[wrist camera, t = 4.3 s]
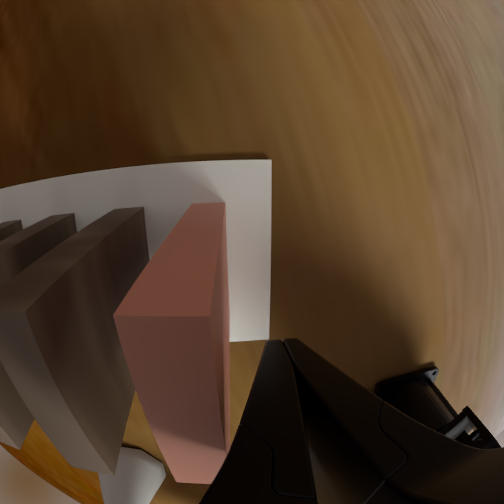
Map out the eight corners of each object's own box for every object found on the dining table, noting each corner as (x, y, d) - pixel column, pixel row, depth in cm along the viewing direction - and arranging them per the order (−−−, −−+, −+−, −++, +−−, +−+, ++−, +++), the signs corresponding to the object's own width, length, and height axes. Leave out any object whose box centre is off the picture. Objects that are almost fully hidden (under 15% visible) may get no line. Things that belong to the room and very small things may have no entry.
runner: (270, 159, 14) (271, 159, 13) (267, 335, 17) (269, 339, 17) (-46, 201, 12) (-50, 202, 11) (-14, 326, 15) (-16, 328, 15)
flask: (83, 441, 20) (60, 523, 11) (145, 441, 20) (132, 539, 11) (120, 476, 22) (109, 547, 13) (178, 476, 23) (176, 557, 13)
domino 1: (74, 212, 13) (-67, 301, 4) (94, 314, 15) (19, 449, 6) (51, 215, 13) (-86, 297, 4) (72, 313, 15) (-8, 438, 6)
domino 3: (225, 202, 14) (209, 316, 4) (229, 313, 16) (231, 484, 6) (192, 203, 14) (113, 315, 4) (200, 313, 16) (176, 482, 6)
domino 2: (143, 206, 13) (24, 311, 4) (158, 314, 15) (114, 475, 6) (114, 208, 13) (-23, 307, 4) (131, 314, 15) (71, 466, 6)
